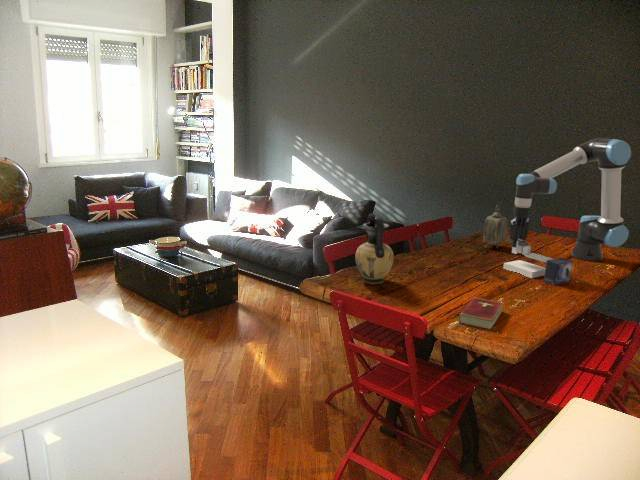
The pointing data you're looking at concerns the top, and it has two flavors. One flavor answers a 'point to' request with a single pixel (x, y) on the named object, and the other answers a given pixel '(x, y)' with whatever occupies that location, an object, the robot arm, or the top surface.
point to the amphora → (374, 252)
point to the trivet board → (525, 268)
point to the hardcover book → (481, 313)
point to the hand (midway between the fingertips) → (516, 252)
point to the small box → (558, 271)
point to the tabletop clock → (495, 228)
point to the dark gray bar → (527, 251)
